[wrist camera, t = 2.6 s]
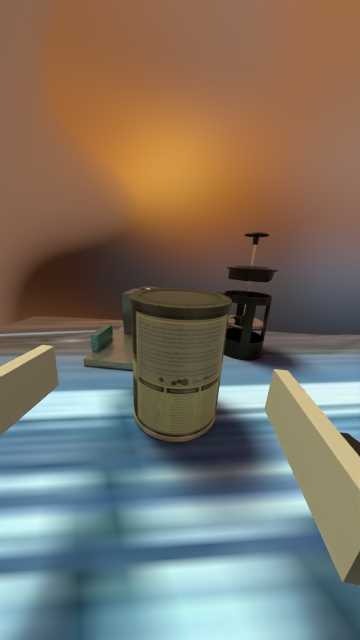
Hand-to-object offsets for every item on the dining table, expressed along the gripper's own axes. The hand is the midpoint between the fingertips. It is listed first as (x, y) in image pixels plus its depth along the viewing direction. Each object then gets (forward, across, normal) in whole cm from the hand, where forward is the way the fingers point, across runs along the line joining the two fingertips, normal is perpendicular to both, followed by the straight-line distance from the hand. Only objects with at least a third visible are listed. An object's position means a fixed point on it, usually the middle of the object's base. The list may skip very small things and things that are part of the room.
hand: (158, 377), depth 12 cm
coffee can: (+10, 0, -11) cm, 15 cm away
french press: (+29, +11, -11) cm, 33 cm away
